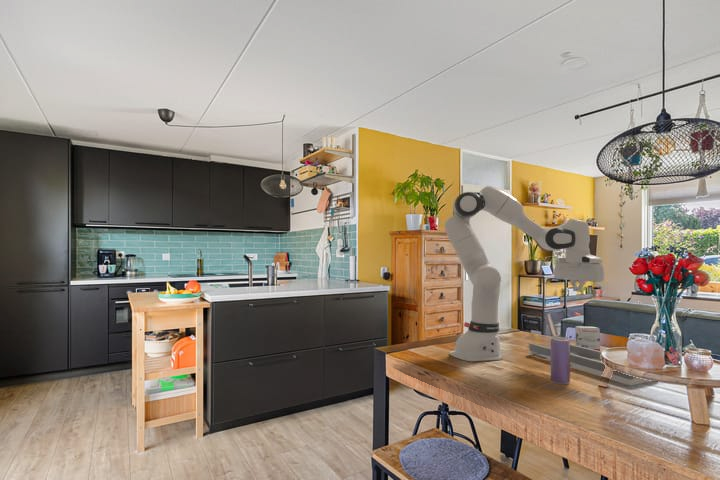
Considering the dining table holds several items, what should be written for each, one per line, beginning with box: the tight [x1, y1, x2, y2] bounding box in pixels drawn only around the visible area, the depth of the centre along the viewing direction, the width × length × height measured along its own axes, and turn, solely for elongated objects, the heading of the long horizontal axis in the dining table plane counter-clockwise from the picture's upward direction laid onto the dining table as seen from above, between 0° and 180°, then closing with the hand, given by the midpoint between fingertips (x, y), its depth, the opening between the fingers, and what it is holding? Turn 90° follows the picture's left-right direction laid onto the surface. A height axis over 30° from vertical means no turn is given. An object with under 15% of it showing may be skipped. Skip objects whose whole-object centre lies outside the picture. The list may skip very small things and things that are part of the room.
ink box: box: [575, 325, 601, 351], centre depth 172 cm, size 9×5×12 cm, turn 84°
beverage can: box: [550, 336, 571, 385], centre depth 133 cm, size 6×6×15 cm
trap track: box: [528, 342, 651, 387], centre depth 153 cm, size 16×42×6 cm, turn 25°
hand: (577, 291), depth 161 cm, fingers closed
